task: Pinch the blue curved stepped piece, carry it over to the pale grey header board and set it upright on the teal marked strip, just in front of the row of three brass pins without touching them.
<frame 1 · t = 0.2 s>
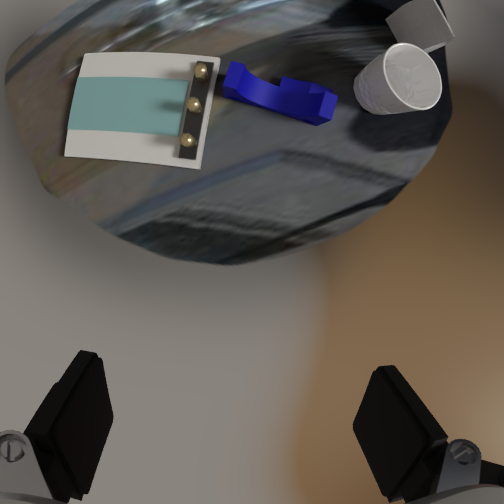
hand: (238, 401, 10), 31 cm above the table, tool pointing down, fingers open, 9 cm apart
header board: (139, 106, 34), on the table
pin header: (194, 106, 31), on the header board, point 4 cm above the table
white cup: (374, 91, 36), on the table
grey box: (403, 37, 33), on the table
blue curved stepped piece: (275, 95, 35), on the table
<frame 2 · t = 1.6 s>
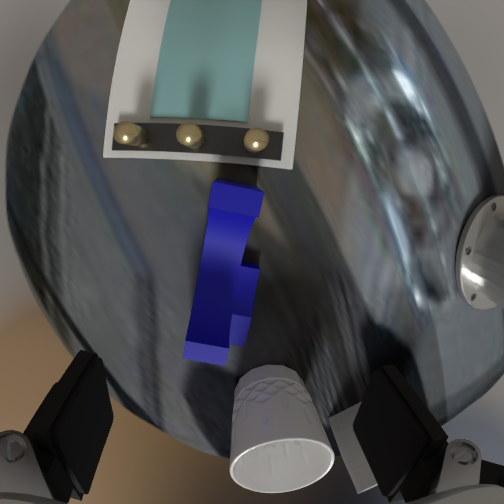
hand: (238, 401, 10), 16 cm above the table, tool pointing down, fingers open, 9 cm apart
header board: (209, 50, 20), on the table
pin header: (192, 136, 19), on the header board, point 4 cm above the table
white cup: (269, 388, 29), on the table
grey box: (359, 411, 31), on the table
blue curved stepped piece: (230, 257, 25), on the table
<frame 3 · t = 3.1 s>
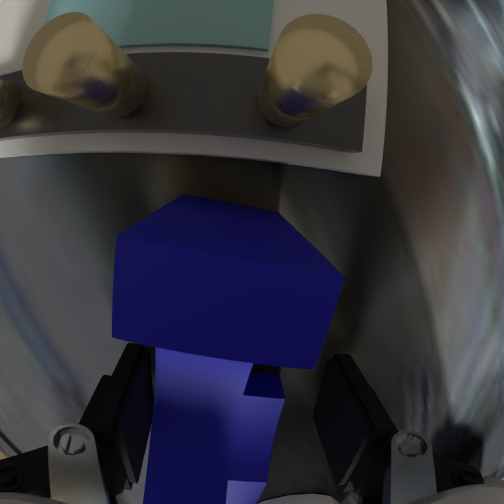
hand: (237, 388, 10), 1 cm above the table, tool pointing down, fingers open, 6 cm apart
pin header: (102, 78, 5), on the header board, point 4 cm above the table
blue curved stepped piece: (221, 364, 11), on the table, touching gripper
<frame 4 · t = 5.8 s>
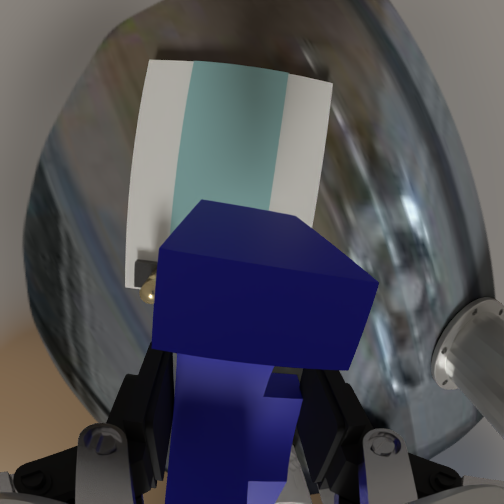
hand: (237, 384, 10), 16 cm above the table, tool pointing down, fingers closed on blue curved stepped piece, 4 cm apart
header board: (224, 181, 24), on the table
pin header: (210, 290, 22), on the header board, point 4 cm above the table
white cup: (265, 450, 32), on the table
blue curved stepped piece: (239, 366, 12), point 14 cm above the table, touching gripper
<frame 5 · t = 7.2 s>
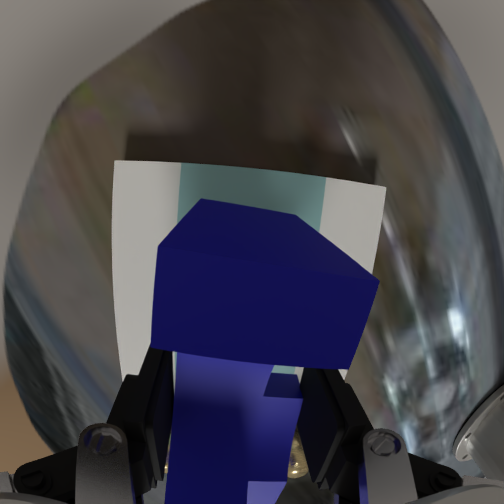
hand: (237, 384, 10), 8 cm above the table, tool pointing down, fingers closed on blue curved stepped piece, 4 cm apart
header board: (237, 324, 18), on the table
pin header: (229, 449, 17), on the header board, point 4 cm above the table
blue curved stepped piece: (239, 366, 11), point 7 cm above the table, touching gripper
when the fingers open (3 cm above the table, at t = 8.2 s): blue curved stepped piece stays where it is, resting on header board.
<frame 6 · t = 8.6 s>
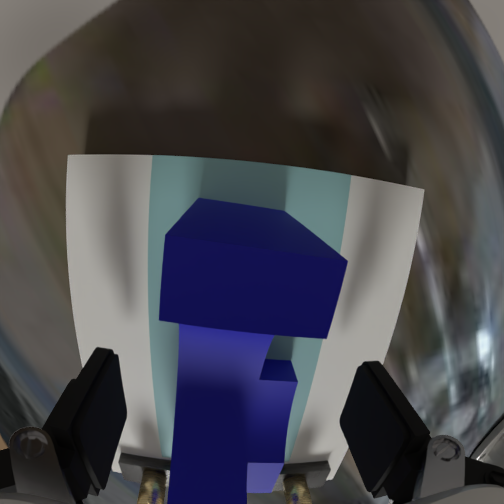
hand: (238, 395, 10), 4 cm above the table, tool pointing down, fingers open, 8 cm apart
header board: (232, 361, 14), on the table
pin header: (225, 499, 13), on the header board, point 4 cm above the table
blue curved stepped piece: (237, 353, 12), point 1 cm above the table, touching header board
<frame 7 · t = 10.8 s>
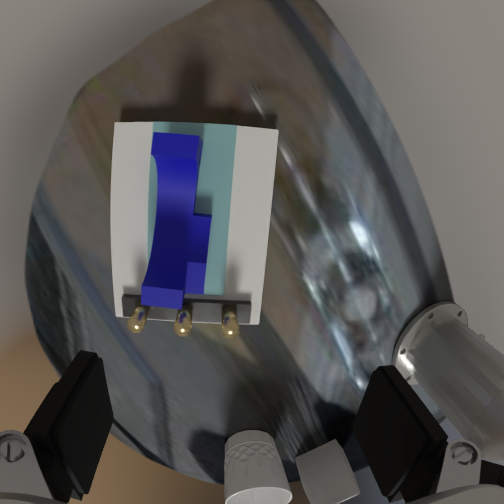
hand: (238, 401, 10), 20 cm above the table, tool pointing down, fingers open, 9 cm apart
header board: (189, 225, 28), on the table
pin header: (184, 317, 27), on the header board, point 4 cm above the table
white cup: (249, 442, 37), on the table
grey box: (318, 452, 40), on the table
blue curved stepped piece: (185, 211, 26), point 1 cm above the table, touching header board
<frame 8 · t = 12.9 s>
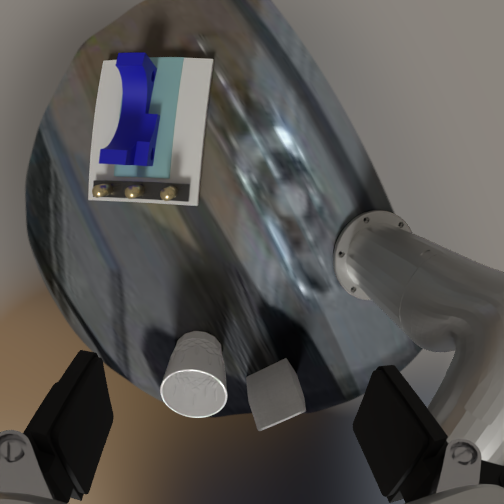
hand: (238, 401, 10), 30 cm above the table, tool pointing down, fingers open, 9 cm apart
header board: (148, 128, 35), on the table
pin header: (135, 191, 33), on the header board, point 4 cm above the table
white cup: (199, 349, 43), on the table
grey box: (271, 374, 45), on the table
blue curved stepped piece: (142, 115, 33), point 1 cm above the table, touching header board
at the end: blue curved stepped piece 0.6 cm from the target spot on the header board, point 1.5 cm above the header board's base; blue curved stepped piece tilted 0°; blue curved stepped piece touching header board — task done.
